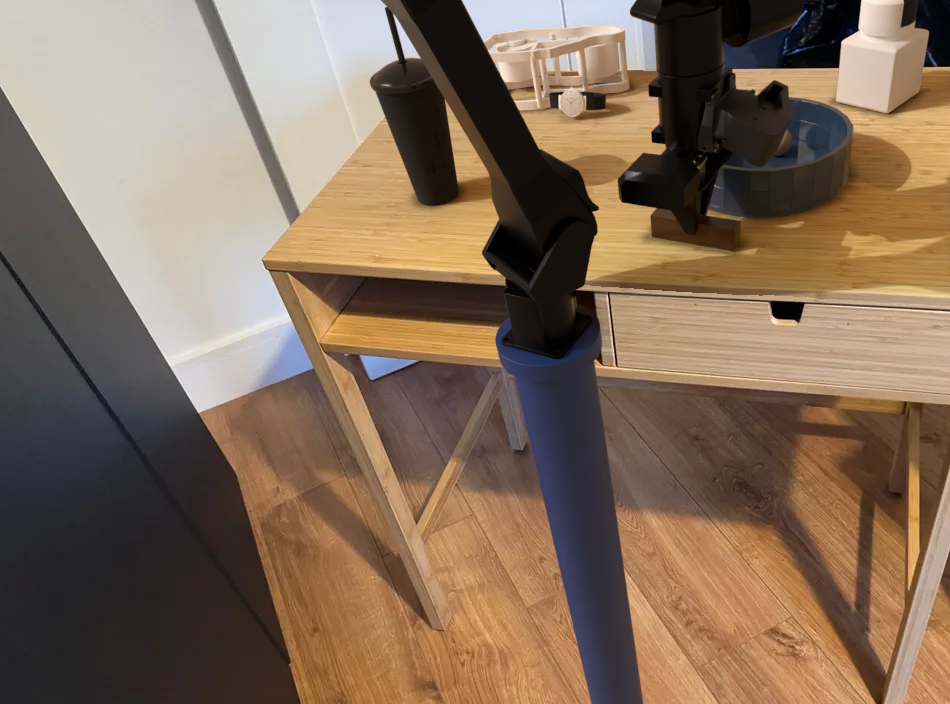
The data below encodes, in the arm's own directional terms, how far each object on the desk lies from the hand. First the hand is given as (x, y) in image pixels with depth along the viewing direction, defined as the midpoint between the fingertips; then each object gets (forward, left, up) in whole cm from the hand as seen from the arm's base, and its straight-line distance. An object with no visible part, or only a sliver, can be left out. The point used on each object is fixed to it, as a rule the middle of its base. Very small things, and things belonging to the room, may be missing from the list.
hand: (694, 228), depth 80 cm
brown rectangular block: (0, 0, -1) cm, 1 cm away
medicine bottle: (+36, -8, -1) cm, 37 cm away
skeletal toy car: (+29, +33, -1) cm, 44 cm away
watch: (+24, +26, +1) cm, 36 cm away
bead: (+18, -2, +1) cm, 18 cm away
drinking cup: (0, +32, -1) cm, 32 cm away
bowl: (+14, -2, -1) cm, 14 cm away
